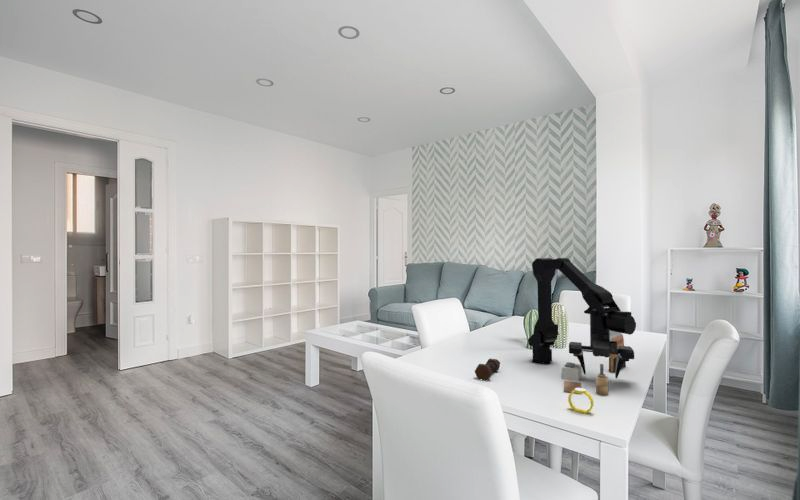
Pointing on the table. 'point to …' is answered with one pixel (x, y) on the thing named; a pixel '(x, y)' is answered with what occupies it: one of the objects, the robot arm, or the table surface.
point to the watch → (581, 391)
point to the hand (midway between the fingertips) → (600, 376)
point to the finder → (571, 371)
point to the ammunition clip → (613, 357)
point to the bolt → (487, 369)
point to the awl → (601, 383)
